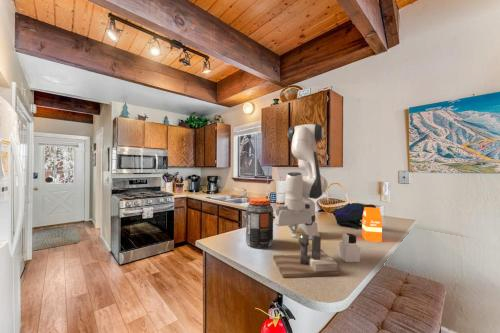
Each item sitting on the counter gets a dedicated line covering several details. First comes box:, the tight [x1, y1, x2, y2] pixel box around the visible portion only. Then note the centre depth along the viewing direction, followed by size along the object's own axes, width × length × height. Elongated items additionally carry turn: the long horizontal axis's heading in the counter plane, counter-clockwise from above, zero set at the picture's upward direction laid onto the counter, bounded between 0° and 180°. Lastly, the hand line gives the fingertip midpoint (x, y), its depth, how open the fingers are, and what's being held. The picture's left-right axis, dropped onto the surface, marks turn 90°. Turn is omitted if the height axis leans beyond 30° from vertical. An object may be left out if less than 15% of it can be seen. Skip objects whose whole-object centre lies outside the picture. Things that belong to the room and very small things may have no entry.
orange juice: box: [361, 207, 383, 243], centre depth 135 cm, size 8×9×20 cm
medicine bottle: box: [338, 232, 361, 263], centre depth 105 cm, size 7×7×12 cm
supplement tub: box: [245, 197, 274, 249], centre depth 124 cm, size 16×16×26 cm
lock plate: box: [272, 235, 341, 279], centre depth 96 cm, size 18×24×14 cm
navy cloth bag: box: [332, 202, 377, 230], centre depth 162 cm, size 21×26×30 cm
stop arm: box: [295, 227, 310, 246], centre depth 102 cm, size 14×4×4 cm, turn 1°
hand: (293, 233), depth 105 cm, fingers closed
